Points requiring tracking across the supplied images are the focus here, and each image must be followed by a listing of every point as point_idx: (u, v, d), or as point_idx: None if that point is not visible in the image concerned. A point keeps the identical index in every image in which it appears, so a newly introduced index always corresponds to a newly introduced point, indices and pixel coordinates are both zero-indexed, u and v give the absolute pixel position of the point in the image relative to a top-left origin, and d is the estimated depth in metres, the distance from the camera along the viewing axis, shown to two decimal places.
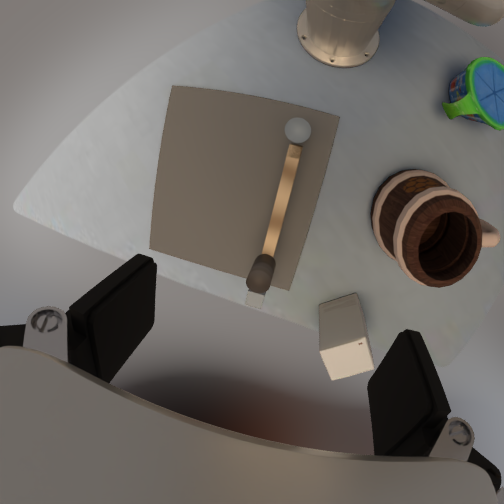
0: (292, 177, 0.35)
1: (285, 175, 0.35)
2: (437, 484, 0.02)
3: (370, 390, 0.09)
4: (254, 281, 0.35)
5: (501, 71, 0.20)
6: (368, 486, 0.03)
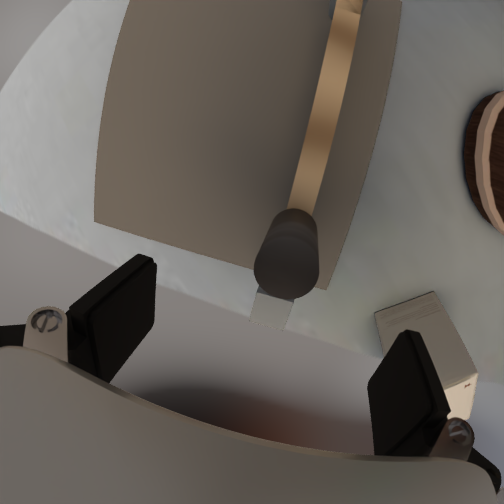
0: (351, 44, 0.13)
1: (337, 39, 0.13)
2: (437, 484, 0.02)
3: (370, 390, 0.09)
4: (277, 267, 0.13)
5: None
6: (368, 487, 0.03)
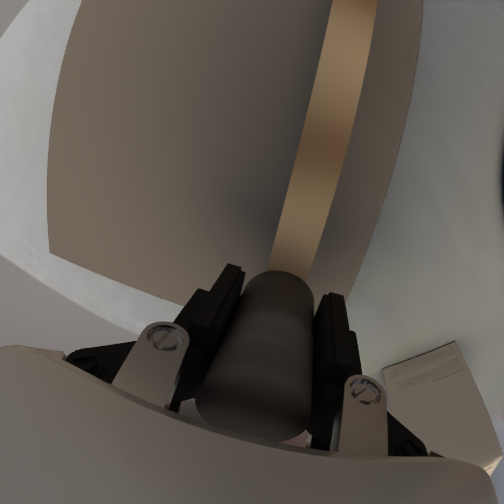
0: (371, 3, 0.06)
1: None
2: (437, 484, 0.02)
3: None
4: (234, 408, 0.06)
5: None
6: (368, 487, 0.03)
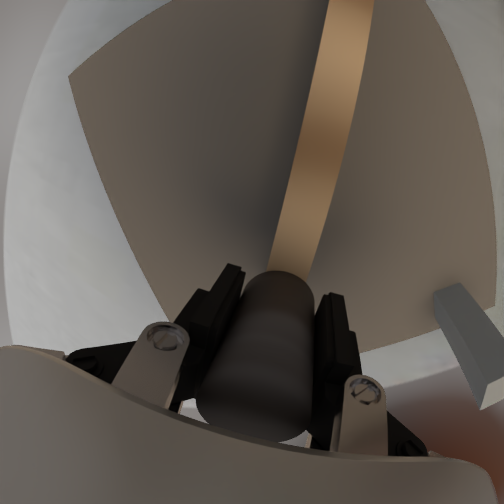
0: (367, 1, 0.06)
1: None
2: (437, 484, 0.02)
3: None
4: (234, 409, 0.06)
5: None
6: (368, 486, 0.03)
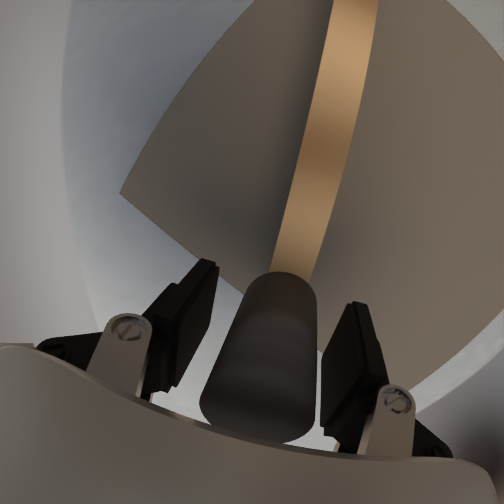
0: (372, 3, 0.06)
1: None
2: (437, 484, 0.02)
3: (323, 362, 0.11)
4: (239, 410, 0.06)
5: None
6: (368, 486, 0.03)
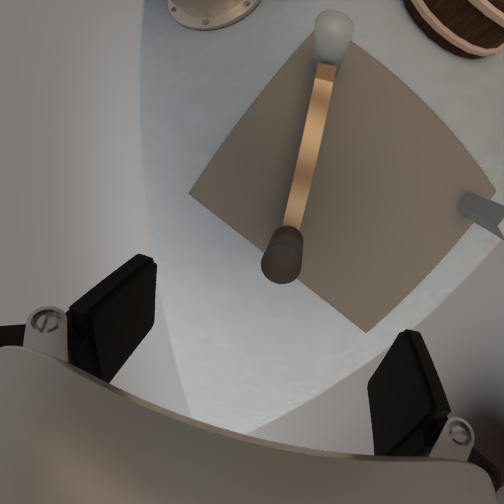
0: (325, 107, 0.21)
1: (315, 104, 0.21)
2: (437, 484, 0.02)
3: (370, 390, 0.09)
4: (275, 263, 0.21)
5: None
6: (369, 486, 0.03)
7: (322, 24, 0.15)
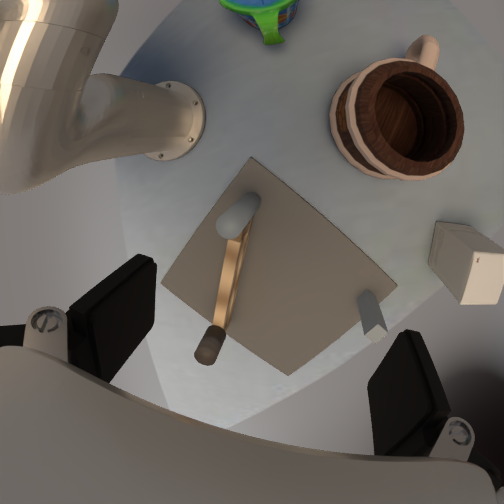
0: (235, 259, 0.36)
1: (228, 257, 0.36)
2: (437, 484, 0.02)
3: (370, 390, 0.09)
4: (201, 356, 0.36)
5: None
6: (368, 486, 0.03)
7: (220, 226, 0.30)
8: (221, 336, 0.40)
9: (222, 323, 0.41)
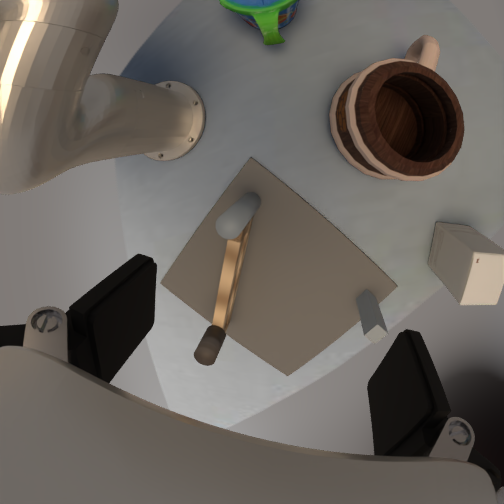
0: (234, 260, 0.36)
1: (228, 257, 0.36)
2: (437, 484, 0.02)
3: (370, 390, 0.09)
4: (201, 356, 0.36)
5: None
6: (368, 486, 0.03)
7: (220, 226, 0.30)
8: (221, 336, 0.40)
9: (222, 323, 0.41)
